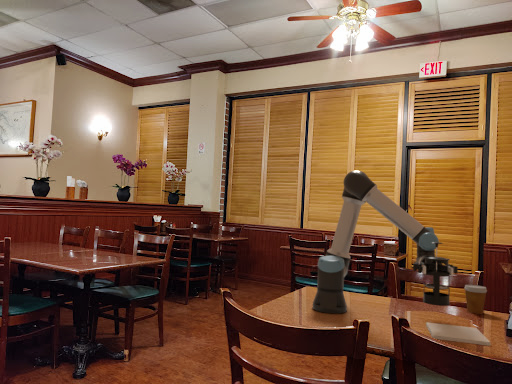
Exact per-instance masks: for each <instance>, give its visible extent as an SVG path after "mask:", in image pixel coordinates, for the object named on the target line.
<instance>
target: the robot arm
mask: <svg viewBox="0 0 512 384" xmlns="http://www.w3.org/2000/svg"><path fill="white" fill-rule="evenodd" d="M341 198H342V200H343V204H342V207H341V211H340V213H339V218H338V221H337V225H336V228H335V232H334V236H333V240H332V244H331V247H330V248H329V249H327V250H326V254H325V256H324V255H323V256H319V258H318V260H317V261H318V262H317V282H316V283H317V285H316V286H317V288H316V293H315V296H314V299H313V301H312V310H314V311H316V312H319V313H325V314H335V315H336V314H344V313H346V312H347V311H348V306H347V301H346V298H345V295H344V285H345V283H344V282H345V278H346V276H347V275H348V272H349V265H350V262H351V256H350V248H351V245H352V241H353V238H354V234H355V230H356V227H357V223H358V219H359V216H360V212H361V209H362V206H363V205H365V204H366V203H367V204H368V205H369V206H370V207H372V208H373V209H374V210H375V211H377V212H378V213H379V214H381V216H382V217H384V218H385V219H386V220H388V221H389V222H390V223H392V224H393V225H394V226H395V228H397V229H399V230H400V231H401V232H402V233H404V235H406V237H408V238H409V239H411V241H413V242H414V243H415V244H416V258H415V261H414V262H413V263H412V265H413V266H412V271H414V272H415V271H416V272H417V273H418V274H422V273H423V275H426V269H431V270H436V263H429V264H426V263H425V258H424V257H436V247H435V243H431V242H440V241H439V237H438V235H436V234H435V228H433V227H430V226H429V227H427V226H426V227H425V226H424V225H423V224H422V223H420V222H419V221H418V219H416V218H414V217H413V216H412V215H410V213H408V212H407V211H405V209H403V208H402V207H401V206H400V205H398V204H397V203H396V202H395V201H393V200H392V199H391V198H389V196H387V195H386V194H385V193H384V192H382V191H381V190H380V189H379V188H378V185H377V184H376V183H375V182H373V180H371V178H369V176H368V175H367V174H366V173H365V172H363V171H361V170H359V169H357V170H352V171H349V172H348V173H347V174H346V175H345V176H344V179H343V190H342V195H341ZM437 270H443V271H448V272H450V276H451V277H453V276H454V274H458V273H459V271H458V266H456V265H454V264H450V263H448V265H445V264H442V263H437Z"/></svg>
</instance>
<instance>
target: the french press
mask: <svg viewBox="0 0 512 384" xmlns="http://www.w3.org/2000/svg"><path fill="white" fill-rule="evenodd" d="M431 243H435V247H436V249H435V257H424V258H425V263H426V264H429V263H436V270H431V269H426V274H425V275H428V276H432V283H424V288H428V289H432V291H425V290H423V293H422V295H423V299H422V303H424V304H427V305H432V306H440V307H448V306H450V305H451V302H450V294H449V293H451V291H450V289H451V288H450V286H451V285H450V283H451V282H450V281H451V277H450V276H451V275H450V272H448V271H443V270H437V263H442V265H448V264H449V261H450V258H447V257H446V258H445V257H442V256H438V248H439V245H441V244H442V245H443V242H441V241H439V242H431ZM440 277H448V286H447V285H444V284H440V283H441V282H440V279H441V278H440ZM441 290H442V291H443V290H448V293H444V292H440V291H441Z"/></svg>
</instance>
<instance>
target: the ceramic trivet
mask: <svg viewBox="0 0 512 384" xmlns="http://www.w3.org/2000/svg"><path fill="white" fill-rule="evenodd" d="M425 326H426V328H427V330H428V332H429V334H430V335H431V338H432V339H433V338H435V340H440V341H449V342H458V343H465V344H473V345H474V344H475V345H480V346H490V347H491V342H490V340H489V339H488V338H487V337H486V336H485V335H484V334H483V333H482V332H481V331H480V330H479V329H478V328H477V327H470V326H461V325H453V324H447V323H446V324H445V323H435V322H428V321H427V322H425Z"/></svg>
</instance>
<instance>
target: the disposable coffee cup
mask: <svg viewBox="0 0 512 384" xmlns="http://www.w3.org/2000/svg"><path fill="white" fill-rule="evenodd" d="M463 289H464V293H465V300H466V309H467V312H468V313H471V314H477V315H482V314H484V307H485V302H486V296H487V292H488V289H487V287H486V286H482V285H475V284H465V286H464V288H463Z"/></svg>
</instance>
